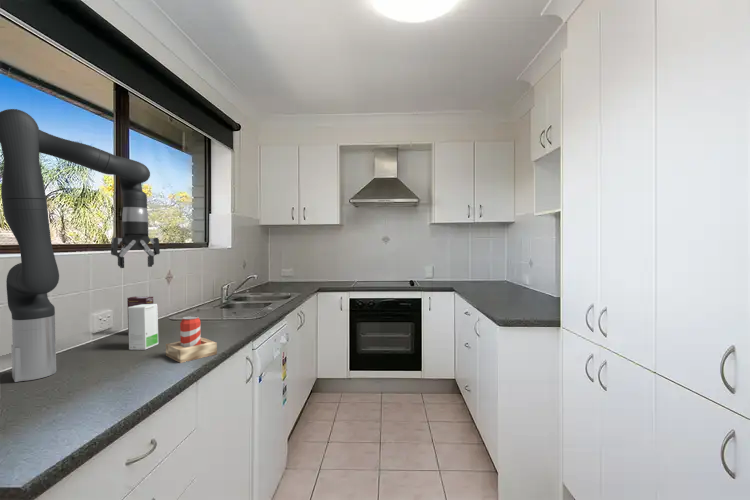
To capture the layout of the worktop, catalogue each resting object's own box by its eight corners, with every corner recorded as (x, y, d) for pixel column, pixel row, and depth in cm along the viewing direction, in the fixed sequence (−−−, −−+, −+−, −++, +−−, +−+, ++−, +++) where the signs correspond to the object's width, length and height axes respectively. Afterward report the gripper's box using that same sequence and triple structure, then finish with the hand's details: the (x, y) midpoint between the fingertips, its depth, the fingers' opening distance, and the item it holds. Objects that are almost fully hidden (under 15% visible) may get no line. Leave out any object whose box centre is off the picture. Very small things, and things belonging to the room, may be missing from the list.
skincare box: (145, 350, 133) (144, 307, 133) (127, 350, 133) (126, 307, 133) (159, 343, 141) (158, 303, 141) (142, 343, 142) (141, 303, 141)
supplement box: (154, 333, 158) (154, 296, 158) (146, 336, 153) (146, 297, 153) (135, 332, 159) (135, 296, 159) (127, 335, 154) (126, 297, 154)
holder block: (180, 362, 119) (180, 350, 119) (165, 355, 126) (165, 344, 126) (216, 354, 128) (216, 342, 128) (201, 347, 136) (200, 337, 136)
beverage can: (176, 354, 125) (175, 318, 124) (190, 348, 131) (189, 315, 131) (191, 355, 123) (191, 319, 123) (205, 350, 129) (204, 315, 129)
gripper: (114, 219, 121) (115, 269, 121) (161, 221, 132) (162, 266, 132) (107, 220, 126) (108, 268, 126) (154, 222, 137) (154, 265, 137)
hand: (136, 267), depth 129 cm, fingers open, 8 cm apart
